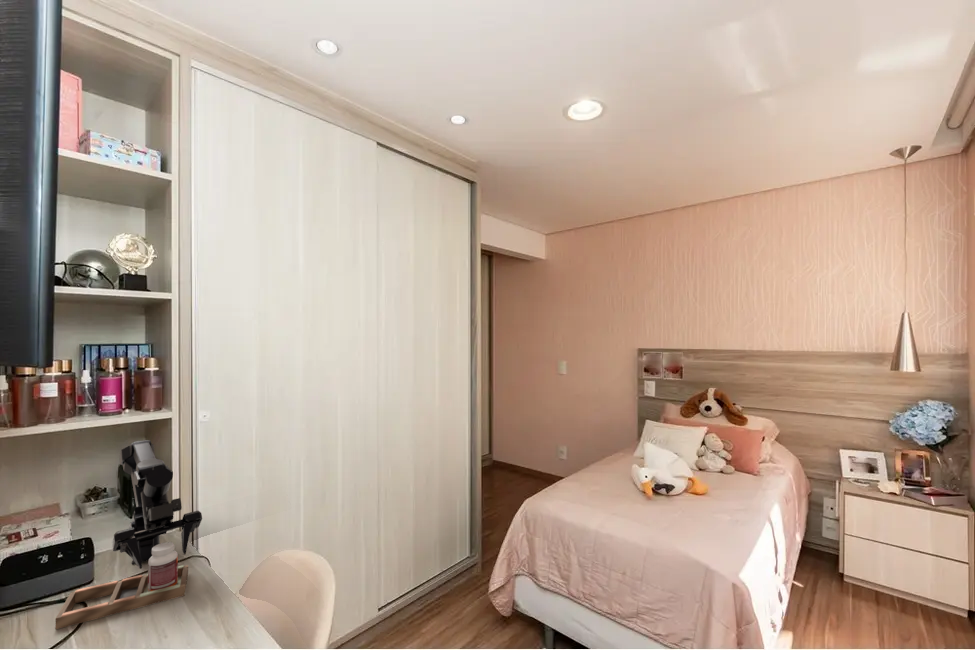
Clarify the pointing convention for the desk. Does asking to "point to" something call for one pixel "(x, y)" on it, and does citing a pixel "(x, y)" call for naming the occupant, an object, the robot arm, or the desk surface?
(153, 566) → the pill bottle
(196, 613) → the desk surface
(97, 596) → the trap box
